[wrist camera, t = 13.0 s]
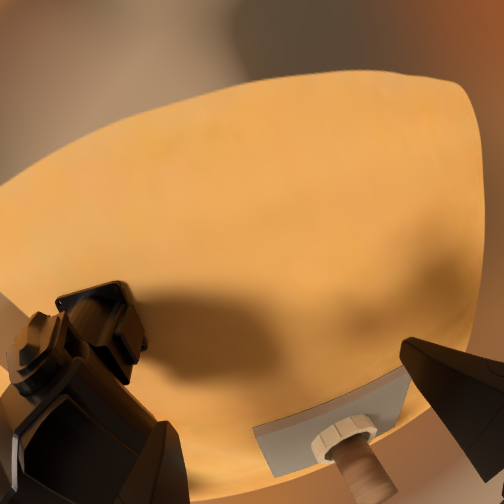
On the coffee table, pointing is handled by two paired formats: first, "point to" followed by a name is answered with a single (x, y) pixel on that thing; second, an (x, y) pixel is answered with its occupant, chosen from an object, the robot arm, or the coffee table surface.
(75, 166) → the coffee table surface
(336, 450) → the walnut column
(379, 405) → the base board
